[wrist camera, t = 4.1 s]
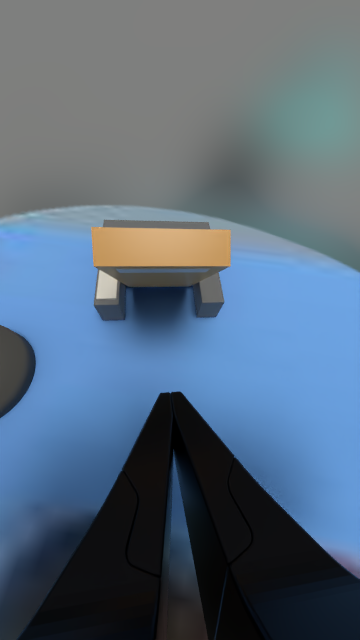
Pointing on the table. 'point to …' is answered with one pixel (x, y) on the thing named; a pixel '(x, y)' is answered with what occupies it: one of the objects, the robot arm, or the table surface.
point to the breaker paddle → (160, 255)
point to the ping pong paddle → (14, 368)
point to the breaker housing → (113, 291)
